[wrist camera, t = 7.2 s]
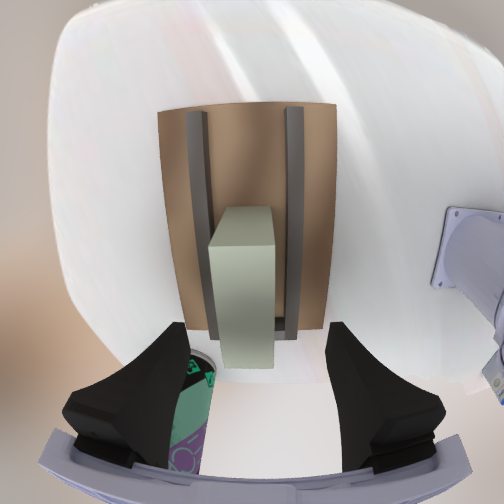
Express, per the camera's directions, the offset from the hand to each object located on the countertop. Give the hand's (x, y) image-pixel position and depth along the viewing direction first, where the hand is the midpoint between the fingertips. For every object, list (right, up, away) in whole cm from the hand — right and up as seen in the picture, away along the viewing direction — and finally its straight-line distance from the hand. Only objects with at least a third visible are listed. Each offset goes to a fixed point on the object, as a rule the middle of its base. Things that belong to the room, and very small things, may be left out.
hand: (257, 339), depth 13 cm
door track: (0, +6, +8) cm, 10 cm away
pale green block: (0, +4, +7) cm, 8 cm away
